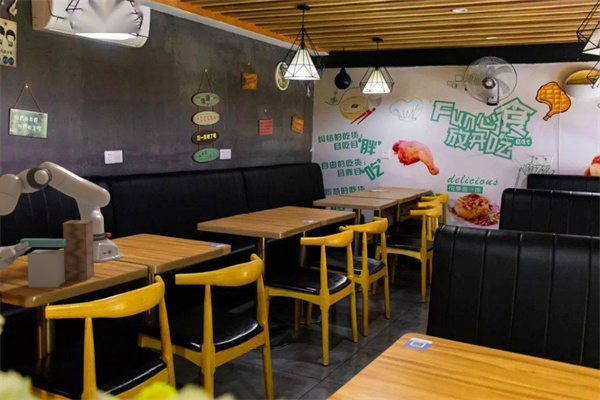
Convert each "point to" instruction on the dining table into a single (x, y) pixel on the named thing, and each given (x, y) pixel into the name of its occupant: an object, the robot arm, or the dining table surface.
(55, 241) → the rail
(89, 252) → the stand
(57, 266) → the grey block
